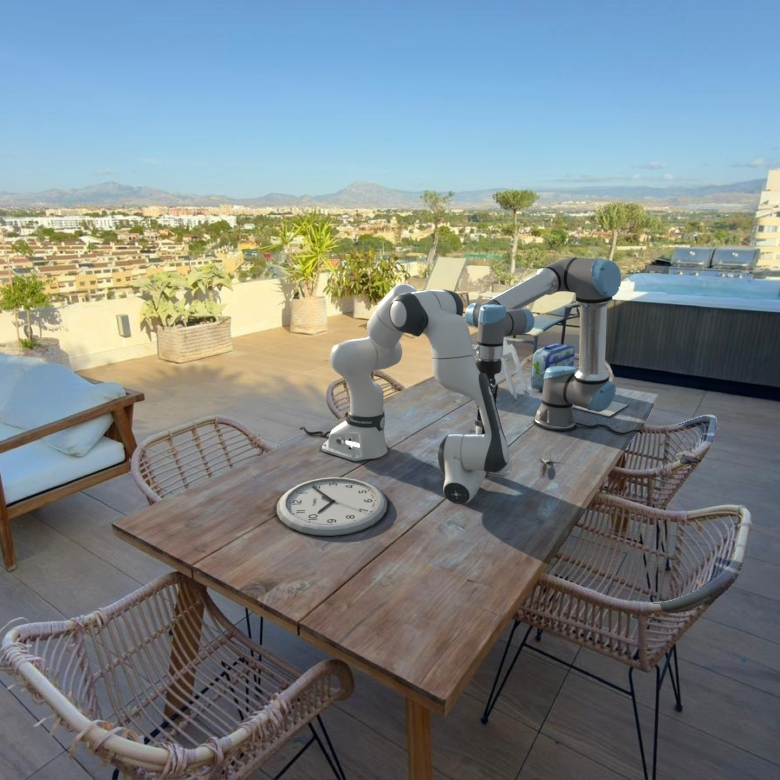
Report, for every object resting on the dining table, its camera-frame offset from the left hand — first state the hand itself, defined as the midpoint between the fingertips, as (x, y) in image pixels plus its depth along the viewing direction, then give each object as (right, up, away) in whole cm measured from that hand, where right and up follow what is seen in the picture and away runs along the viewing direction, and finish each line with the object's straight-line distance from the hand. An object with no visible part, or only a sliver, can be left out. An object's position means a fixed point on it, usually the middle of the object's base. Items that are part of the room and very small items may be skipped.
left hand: (482, 451), depth 163 cm
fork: (+21, -5, +6) cm, 23 cm away
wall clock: (-44, -12, -20) cm, 50 cm away
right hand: (0, +6, -3) cm, 7 cm away
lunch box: (+49, +20, +89) cm, 104 cm away
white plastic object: (+13, +18, +81) cm, 84 cm away
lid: (0, +10, -4) cm, 11 cm away
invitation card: (+63, +12, +64) cm, 90 cm away
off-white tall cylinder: (0, -7, +1) cm, 7 cm away
